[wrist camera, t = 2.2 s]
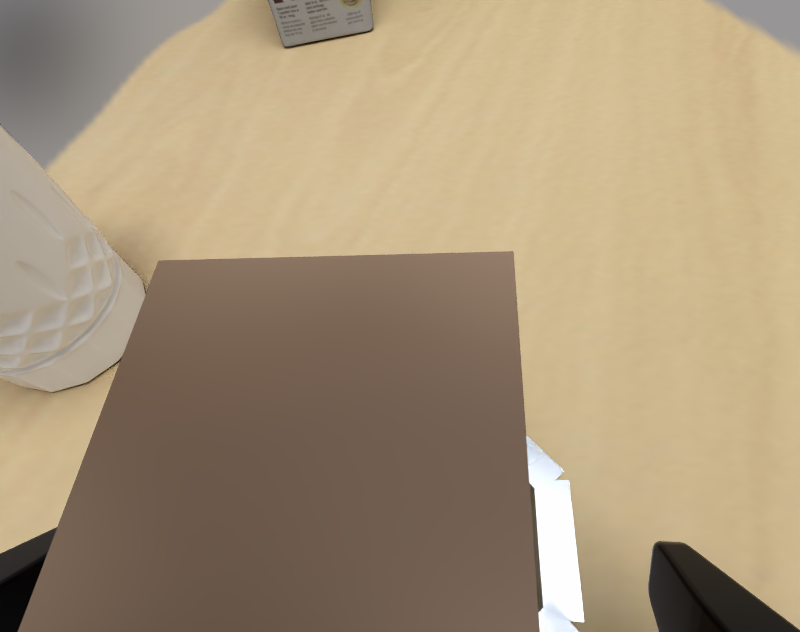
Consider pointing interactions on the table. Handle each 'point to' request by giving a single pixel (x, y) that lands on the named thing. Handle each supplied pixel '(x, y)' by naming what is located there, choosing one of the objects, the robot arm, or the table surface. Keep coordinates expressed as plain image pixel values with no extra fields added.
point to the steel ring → (553, 544)
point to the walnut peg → (306, 456)
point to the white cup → (56, 283)
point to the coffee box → (320, 19)
